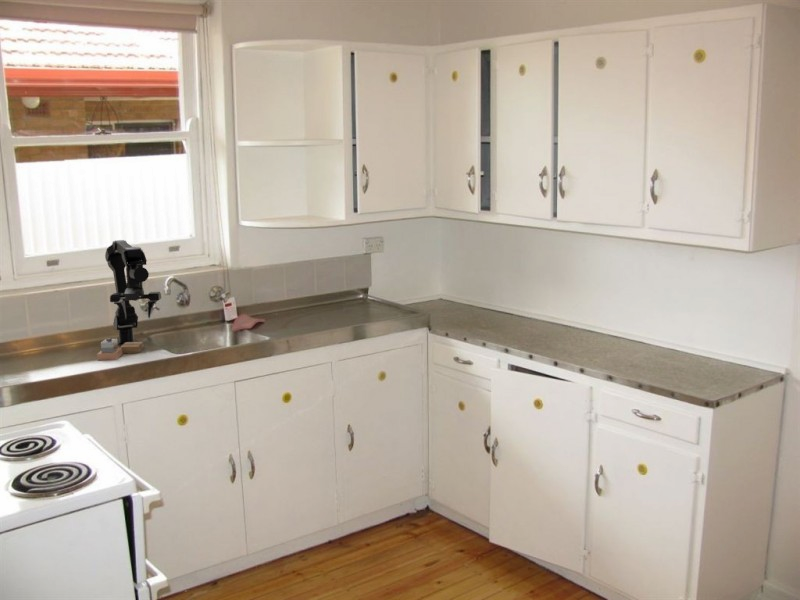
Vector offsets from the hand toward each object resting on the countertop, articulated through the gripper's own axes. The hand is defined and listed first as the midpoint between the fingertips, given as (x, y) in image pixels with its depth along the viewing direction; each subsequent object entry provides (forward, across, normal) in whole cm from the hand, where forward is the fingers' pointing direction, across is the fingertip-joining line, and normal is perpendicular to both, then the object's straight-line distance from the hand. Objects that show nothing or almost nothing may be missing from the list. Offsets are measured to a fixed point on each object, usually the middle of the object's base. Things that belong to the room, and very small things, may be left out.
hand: (137, 318), depth 333 cm
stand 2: (+13, -3, 0) cm, 13 cm away
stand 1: (+13, -9, -10) cm, 19 cm away
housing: (+10, -9, -10) cm, 17 cm away
